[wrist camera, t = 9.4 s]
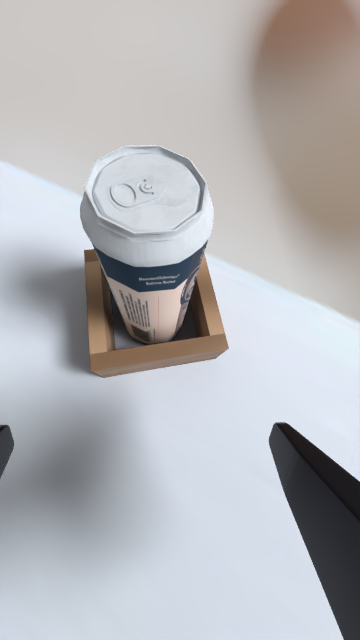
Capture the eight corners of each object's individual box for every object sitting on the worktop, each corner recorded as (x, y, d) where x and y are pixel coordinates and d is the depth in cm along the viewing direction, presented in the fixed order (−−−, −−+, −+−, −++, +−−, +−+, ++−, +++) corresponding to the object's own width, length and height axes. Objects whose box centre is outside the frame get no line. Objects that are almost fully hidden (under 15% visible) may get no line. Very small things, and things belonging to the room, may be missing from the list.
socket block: (215, 358, 18) (228, 348, 15) (103, 377, 17) (90, 371, 13) (193, 266, 21) (200, 239, 17) (96, 276, 19) (84, 250, 16)
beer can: (193, 330, 18) (248, 217, 7) (138, 356, 17) (103, 270, 6) (167, 283, 20) (179, 124, 9) (114, 304, 19) (49, 153, 7)
